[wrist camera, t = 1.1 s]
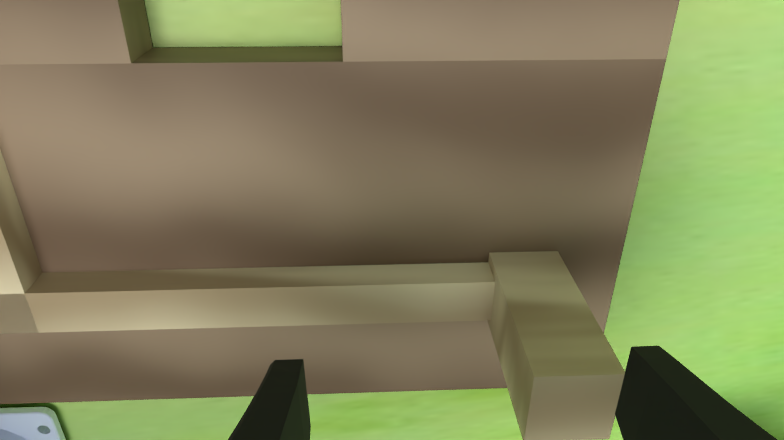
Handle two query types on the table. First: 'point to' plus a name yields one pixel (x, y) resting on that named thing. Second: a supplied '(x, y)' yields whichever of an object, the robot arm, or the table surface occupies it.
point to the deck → (319, 174)
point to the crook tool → (347, 313)
